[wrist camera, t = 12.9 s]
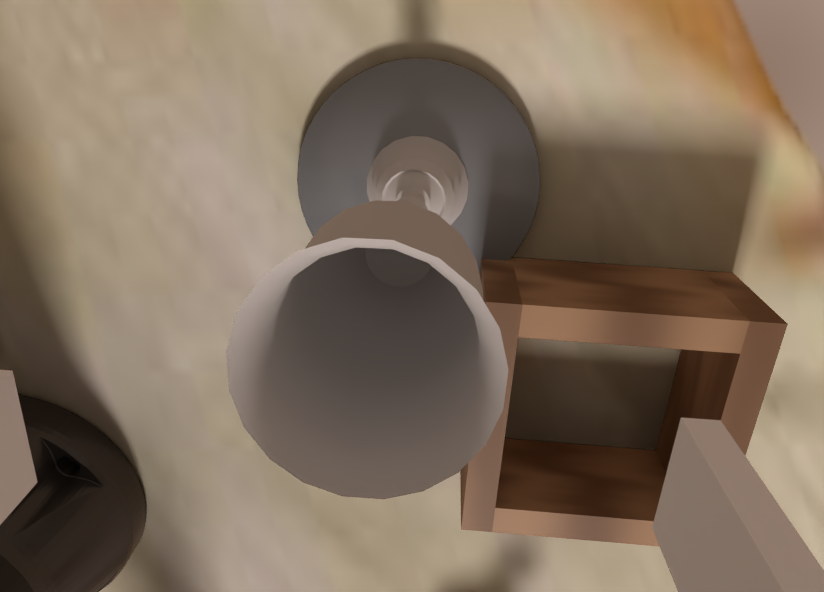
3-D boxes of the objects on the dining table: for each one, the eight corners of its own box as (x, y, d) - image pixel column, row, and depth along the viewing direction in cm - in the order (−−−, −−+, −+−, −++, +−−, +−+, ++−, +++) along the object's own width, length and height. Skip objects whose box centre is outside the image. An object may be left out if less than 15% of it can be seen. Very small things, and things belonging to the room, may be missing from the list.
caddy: (460, 456, 39) (461, 529, 34) (480, 255, 34) (485, 301, 28) (677, 474, 39) (714, 550, 33) (732, 272, 33) (787, 324, 28)
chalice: (361, 98, 30) (239, 206, 14) (503, 128, 30) (545, 272, 14) (338, 242, 33) (216, 469, 17) (467, 269, 33) (468, 522, 17)
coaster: (301, 285, 35) (299, 290, 35) (297, 50, 30) (294, 51, 30) (523, 301, 35) (524, 306, 34) (554, 65, 30) (556, 66, 29)
